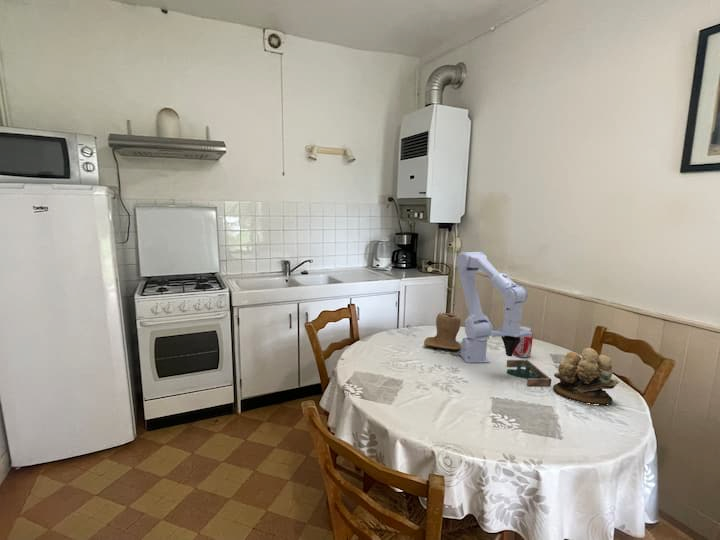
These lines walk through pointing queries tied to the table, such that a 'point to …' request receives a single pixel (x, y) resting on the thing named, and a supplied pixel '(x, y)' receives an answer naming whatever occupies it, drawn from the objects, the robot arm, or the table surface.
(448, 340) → the brown boot
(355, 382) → the table surface
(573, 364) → the beige lumpy cluster
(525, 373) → the mount
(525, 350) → the soda can
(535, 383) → the dock bay
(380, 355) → the table surface
